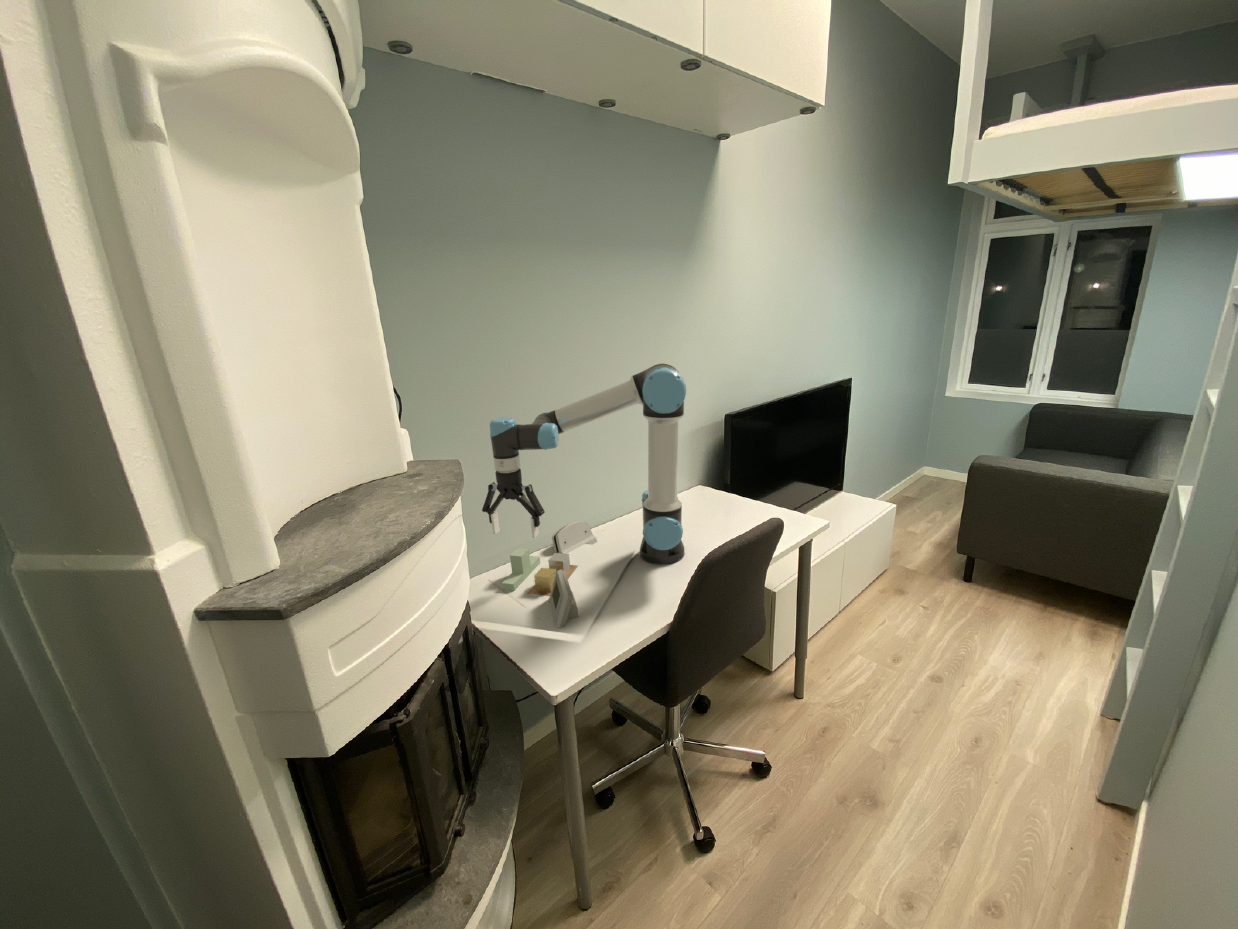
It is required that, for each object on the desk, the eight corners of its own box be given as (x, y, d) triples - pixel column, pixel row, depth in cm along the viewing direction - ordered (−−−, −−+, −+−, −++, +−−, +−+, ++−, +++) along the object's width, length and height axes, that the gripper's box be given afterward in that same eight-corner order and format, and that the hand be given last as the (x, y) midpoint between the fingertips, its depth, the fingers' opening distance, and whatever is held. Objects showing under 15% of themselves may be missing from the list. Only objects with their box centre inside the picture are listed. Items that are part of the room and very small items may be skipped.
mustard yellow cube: (557, 583, 159) (556, 569, 158) (551, 592, 155) (549, 577, 153) (543, 582, 161) (541, 567, 159) (536, 590, 156) (534, 575, 155)
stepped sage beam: (540, 567, 174) (537, 540, 171) (515, 595, 158) (511, 566, 155) (530, 566, 175) (526, 539, 172) (503, 594, 159) (499, 565, 156)
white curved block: (565, 559, 178) (555, 532, 177) (556, 560, 181) (547, 533, 180) (598, 541, 190) (589, 515, 189) (589, 542, 193) (581, 517, 192)
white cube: (570, 568, 168) (568, 554, 167) (564, 575, 164) (562, 561, 162) (556, 566, 170) (554, 552, 168) (549, 574, 165) (548, 560, 164)
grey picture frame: (549, 601, 153) (545, 569, 150) (580, 598, 153) (577, 566, 150) (544, 634, 138) (540, 599, 134) (578, 631, 138) (575, 596, 135)
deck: (578, 569, 170) (578, 565, 170) (555, 601, 153) (554, 596, 152) (553, 567, 173) (553, 563, 172) (527, 597, 156) (527, 593, 155)
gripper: (464, 471, 156) (474, 536, 162) (540, 475, 148) (547, 542, 154) (478, 464, 162) (487, 526, 169) (551, 467, 155) (557, 532, 161)
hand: (515, 534), depth 162 cm, fingers open, 13 cm apart
